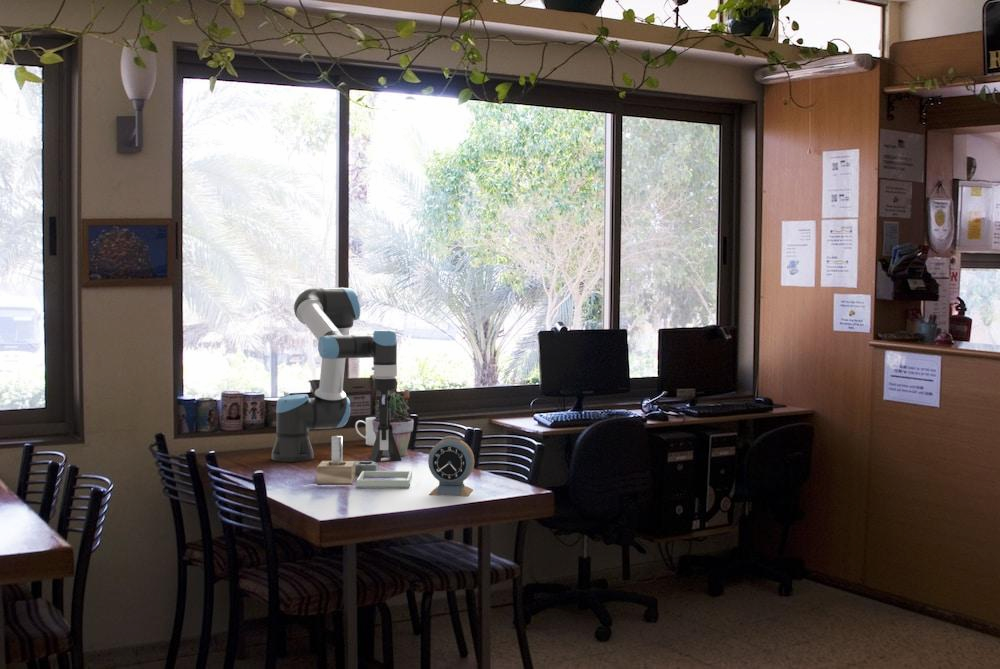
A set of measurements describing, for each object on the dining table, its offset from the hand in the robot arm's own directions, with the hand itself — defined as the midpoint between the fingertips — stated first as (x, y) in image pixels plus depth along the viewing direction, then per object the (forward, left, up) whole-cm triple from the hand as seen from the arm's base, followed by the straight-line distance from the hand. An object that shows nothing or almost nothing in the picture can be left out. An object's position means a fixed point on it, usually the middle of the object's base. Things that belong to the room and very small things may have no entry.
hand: (385, 448), depth 358 cm
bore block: (-2, -16, -12) cm, 20 cm away
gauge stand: (-15, -8, -12) cm, 21 cm away
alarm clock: (+15, +22, -12) cm, 29 cm away
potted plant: (-57, -3, -12) cm, 58 cm away
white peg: (-2, -16, -12) cm, 20 cm away
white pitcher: (-82, -13, -12) cm, 84 cm away
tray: (0, 0, -12) cm, 12 cm away
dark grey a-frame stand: (0, 0, -4) cm, 4 cm away
